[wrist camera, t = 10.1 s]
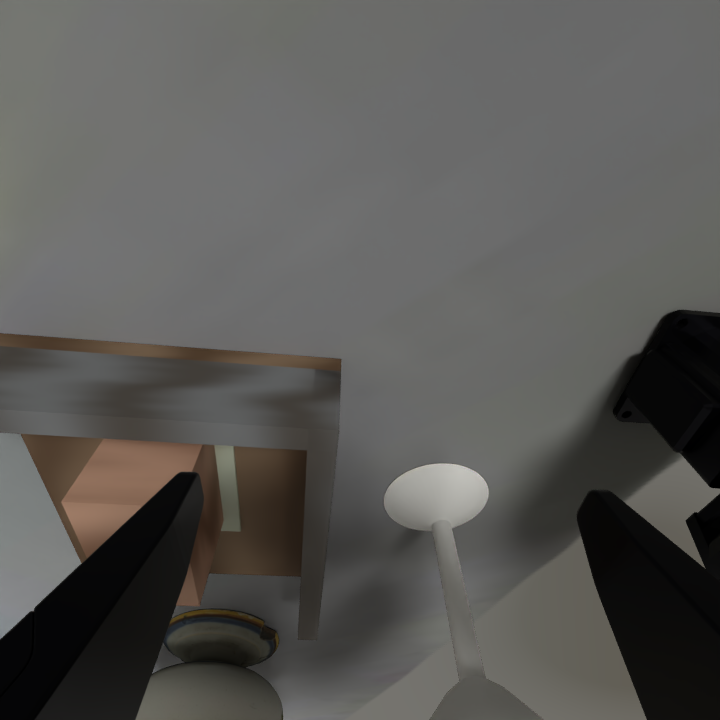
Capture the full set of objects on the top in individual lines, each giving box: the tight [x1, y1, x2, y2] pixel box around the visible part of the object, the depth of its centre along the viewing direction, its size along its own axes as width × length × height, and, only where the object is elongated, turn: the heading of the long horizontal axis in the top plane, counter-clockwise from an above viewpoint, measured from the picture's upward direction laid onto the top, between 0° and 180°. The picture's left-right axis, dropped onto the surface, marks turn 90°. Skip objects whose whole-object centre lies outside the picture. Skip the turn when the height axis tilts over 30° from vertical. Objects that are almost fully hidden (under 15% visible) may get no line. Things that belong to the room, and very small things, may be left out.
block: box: [61, 439, 224, 606], centre depth 21 cm, size 8×4×5 cm, turn 174°
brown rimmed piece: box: [0, 333, 341, 640], centre depth 23 cm, size 16×18×5 cm
